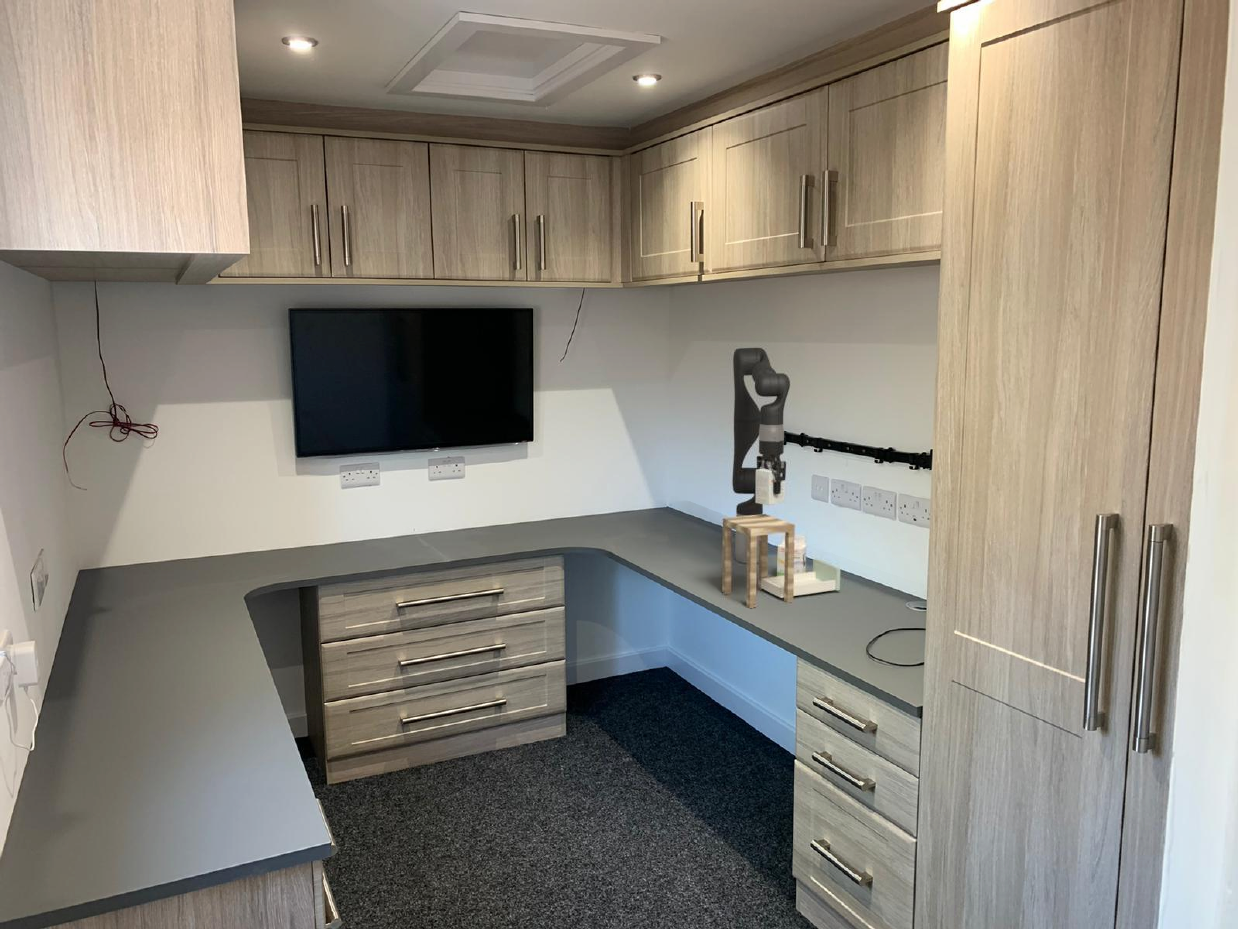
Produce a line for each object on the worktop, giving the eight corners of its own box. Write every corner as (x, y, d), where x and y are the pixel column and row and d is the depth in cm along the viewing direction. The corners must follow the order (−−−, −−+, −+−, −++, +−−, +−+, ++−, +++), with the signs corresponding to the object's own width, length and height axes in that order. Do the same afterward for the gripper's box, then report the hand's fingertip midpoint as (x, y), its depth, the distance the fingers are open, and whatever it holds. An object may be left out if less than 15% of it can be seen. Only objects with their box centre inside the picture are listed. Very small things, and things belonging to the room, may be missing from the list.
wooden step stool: (722, 593, 291) (722, 518, 287) (763, 587, 297) (764, 513, 293) (750, 608, 276) (750, 529, 272) (793, 602, 281) (794, 524, 278)
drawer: (759, 587, 294) (759, 565, 293) (815, 579, 302) (816, 558, 301) (782, 598, 282) (782, 576, 281) (839, 590, 290) (840, 568, 289)
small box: (771, 499, 293) (771, 466, 292) (785, 501, 289) (786, 468, 288) (754, 503, 288) (755, 469, 287) (768, 505, 284) (769, 471, 282)
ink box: (775, 580, 305) (776, 536, 302) (780, 576, 309) (781, 533, 307) (801, 583, 301) (802, 539, 298) (806, 579, 305) (807, 535, 303)
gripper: (749, 436, 291) (748, 488, 294) (772, 442, 278) (771, 496, 280) (770, 435, 294) (769, 487, 296) (794, 440, 280) (793, 494, 283)
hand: (770, 491), depth 288 cm, fingers closed on small box, 7 cm apart
